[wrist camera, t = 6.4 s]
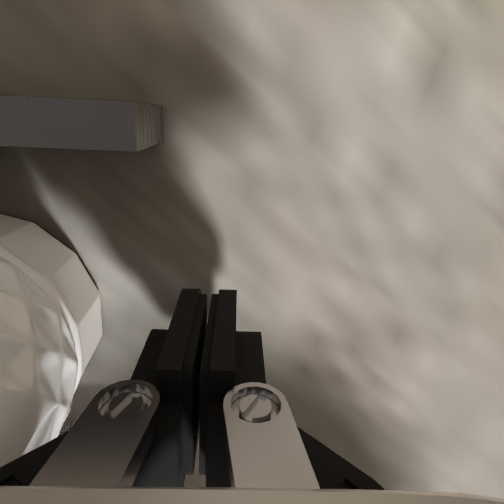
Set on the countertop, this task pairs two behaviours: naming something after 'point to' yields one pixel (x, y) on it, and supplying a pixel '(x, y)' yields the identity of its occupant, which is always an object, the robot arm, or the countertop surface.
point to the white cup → (41, 334)
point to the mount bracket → (79, 124)
